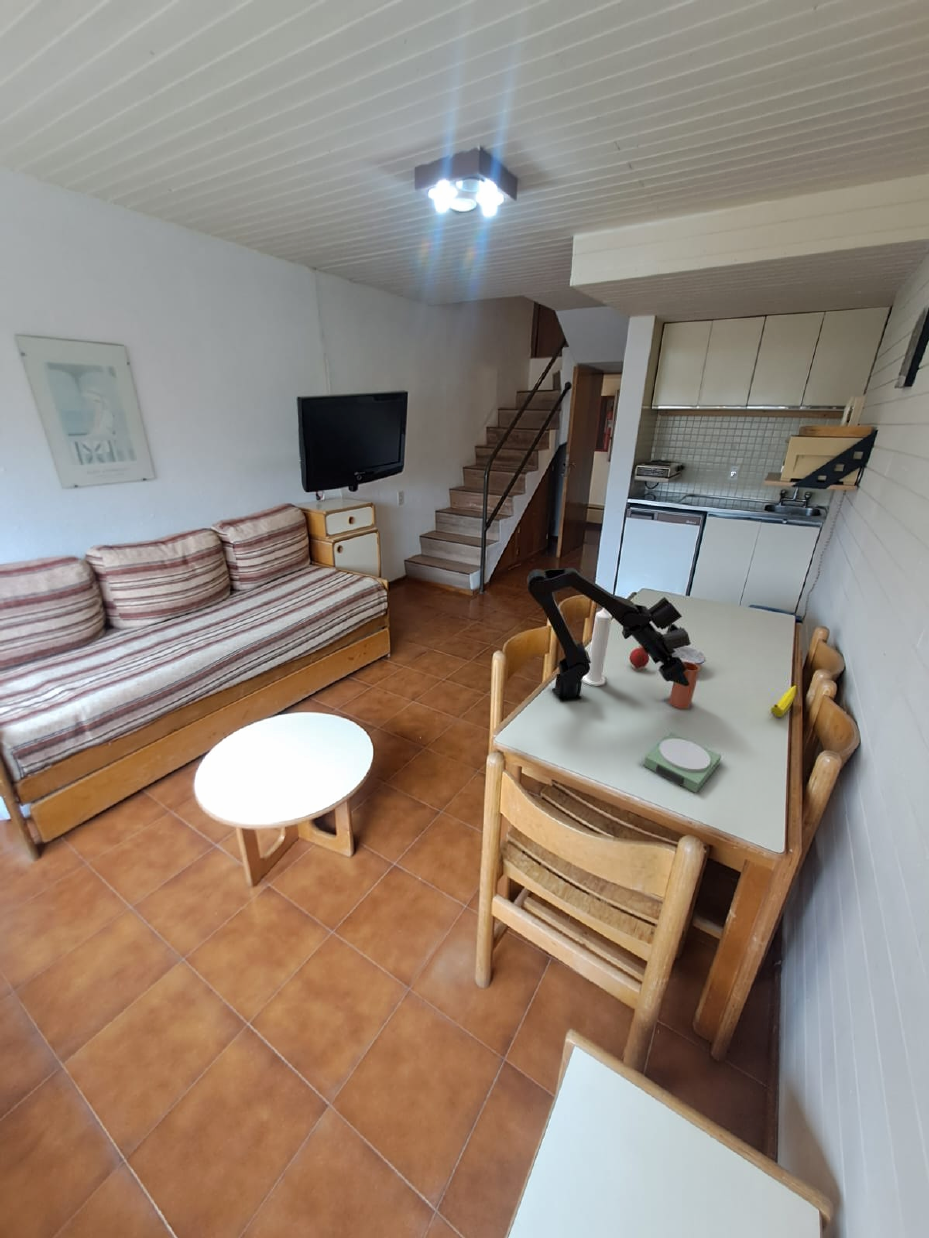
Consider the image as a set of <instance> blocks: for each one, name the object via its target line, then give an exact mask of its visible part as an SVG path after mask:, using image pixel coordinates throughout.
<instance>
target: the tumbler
mask: <svg viewBox="0 0 929 1238" xmlns="http://www.w3.org/2000/svg"><path fill="white" fill-rule="evenodd" d="M683 663H684V664H685V665H686V667H687V669H686V671H684V674H685V676H686V678H687V680H688V682H689V684H690V685H688V686H687V687H686V686H683V685H681V684H678V683H675V682H672V686H671V691H670V695H669V700H668V701H669V704H670V705H671V706H673V707H675V708H677V709H682V710H687V709H690V707H691V706H692V705H691V704H692V700H693V697H694V693H695V689H696V685H697V682H698V677H699V673H700V671H701V670H700V669H701V667H700V666H698V665H696V664H694V663H691V662H685V661H683Z"/></svg>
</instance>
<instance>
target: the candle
mask: <svg viewBox="0 0 929 1238" xmlns="http://www.w3.org/2000/svg"><path fill="white" fill-rule="evenodd" d="M612 618H613V617H612V615H611V614H610V613H609V612H608V611H607V610H606V609H605V608H603V607H602V609H601V610H599V611H597V612H596V613H595V617H594V622H593V630H592V636H591V642H590V643H591V644H590V650H589V654H588V655H589V658H590V661H591V663H589V665H590V670H589V672H588V673H587V674H586V675H585V676H583V678H582V680H581V681H582V683H585V684H586V685H589V686H593V687H600V686H603V685H605V684H606V678H605V676H603V672H604V665H605V660H606V654H607V648H608V643H609V635H610V630H611V625H612Z"/></svg>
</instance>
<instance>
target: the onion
mask: <svg viewBox="0 0 929 1238" xmlns="http://www.w3.org/2000/svg"><path fill="white" fill-rule="evenodd" d="M629 661H630V664H631V665H633V667H634V668H635V669H637V670H638V669H641V668H644V667H645V666H647V665H648V664H649V661H650V655H649V654H648V653H646V652H645V651H644V649H643V648H642V646H641V645H639V646H638V647H636V648H635V649H633V650H632V651H631V652H630V655H629Z"/></svg>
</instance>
